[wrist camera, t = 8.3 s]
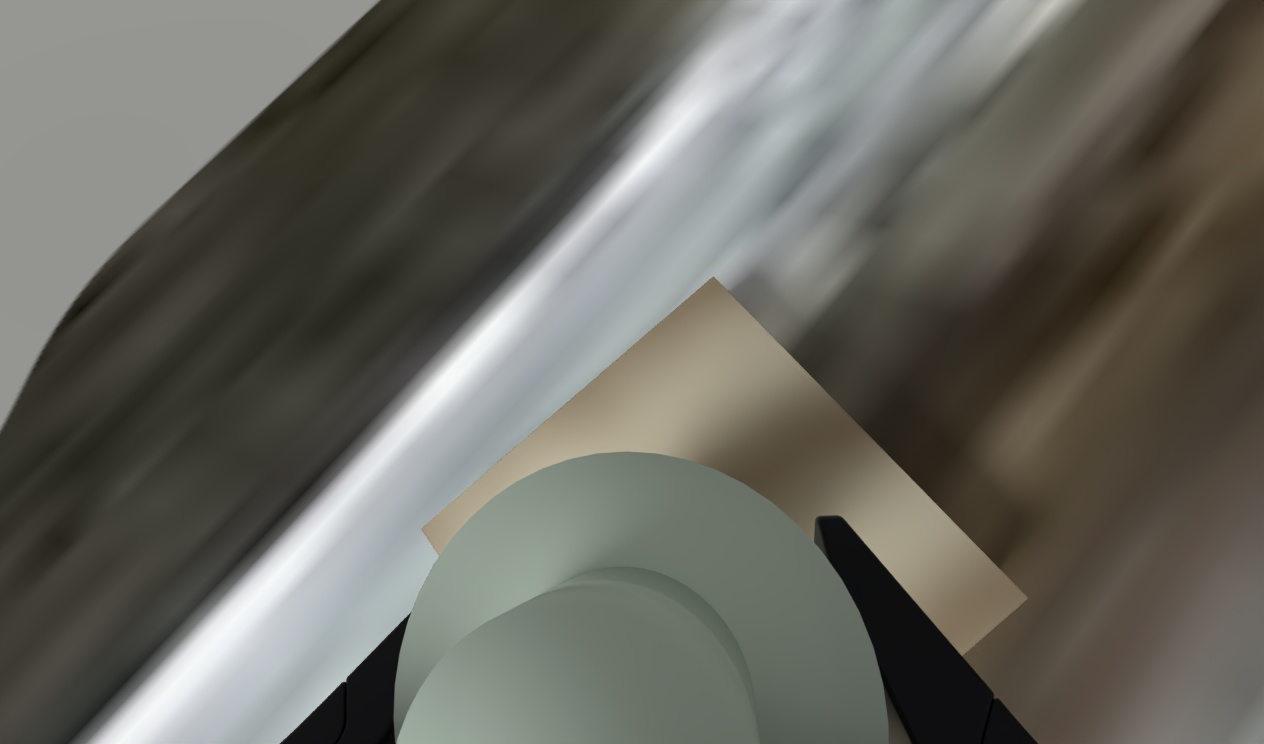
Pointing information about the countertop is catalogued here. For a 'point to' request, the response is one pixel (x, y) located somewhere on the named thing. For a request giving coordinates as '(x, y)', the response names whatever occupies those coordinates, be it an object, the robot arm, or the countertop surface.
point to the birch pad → (760, 454)
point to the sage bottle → (635, 619)
